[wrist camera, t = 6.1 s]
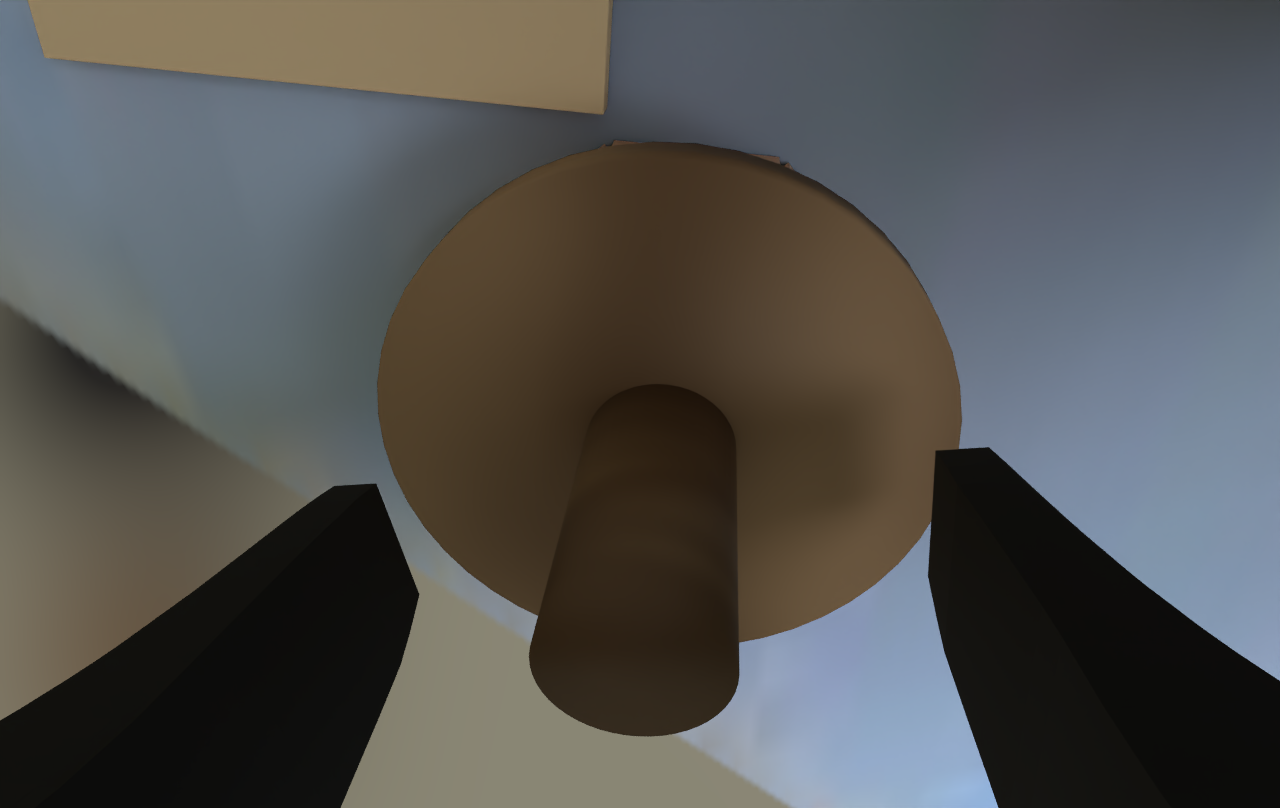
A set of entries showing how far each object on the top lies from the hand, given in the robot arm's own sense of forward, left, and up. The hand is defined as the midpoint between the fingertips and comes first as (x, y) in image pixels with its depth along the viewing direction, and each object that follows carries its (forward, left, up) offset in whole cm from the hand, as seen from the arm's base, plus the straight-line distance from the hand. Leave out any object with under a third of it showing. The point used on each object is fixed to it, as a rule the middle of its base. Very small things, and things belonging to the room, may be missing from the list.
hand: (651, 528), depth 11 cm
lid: (0, 0, -2) cm, 2 cm away
